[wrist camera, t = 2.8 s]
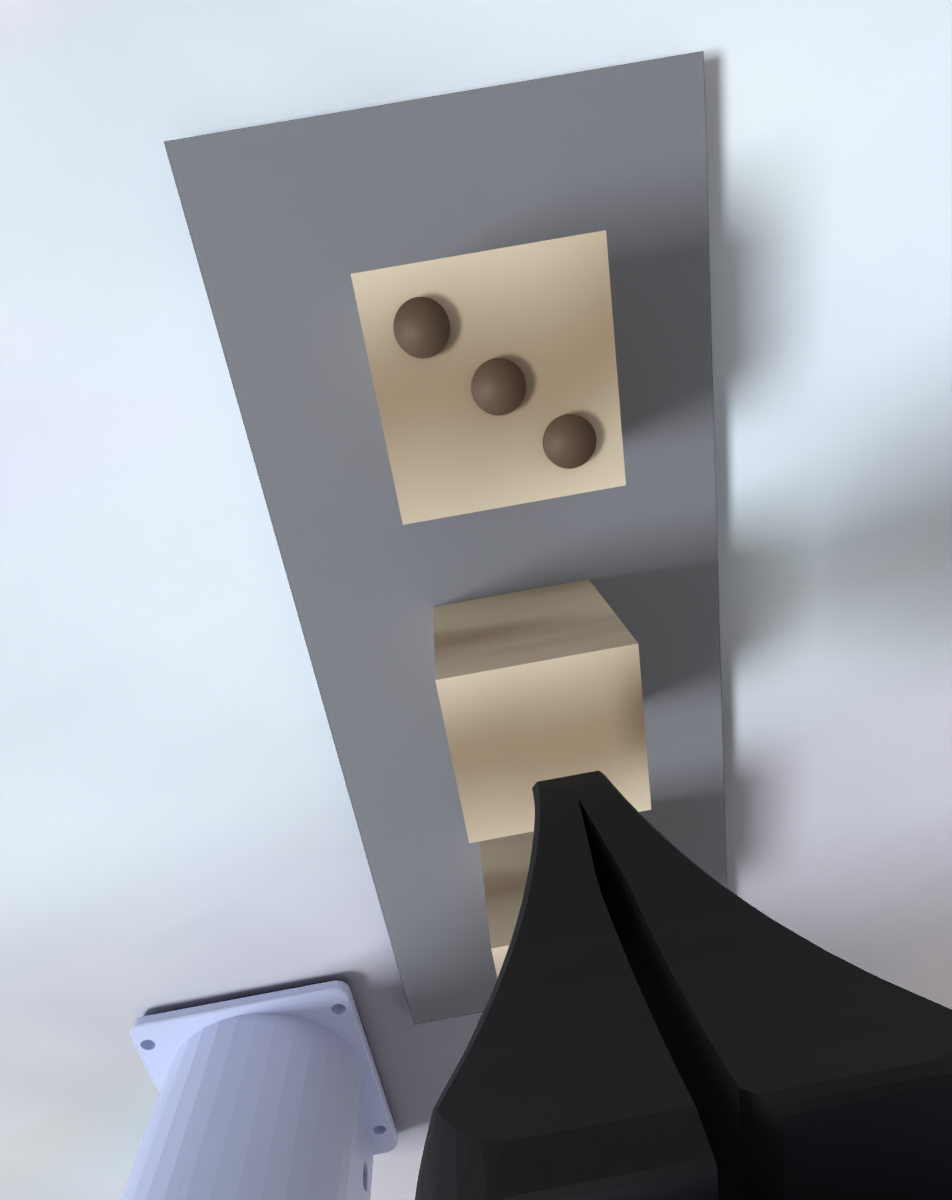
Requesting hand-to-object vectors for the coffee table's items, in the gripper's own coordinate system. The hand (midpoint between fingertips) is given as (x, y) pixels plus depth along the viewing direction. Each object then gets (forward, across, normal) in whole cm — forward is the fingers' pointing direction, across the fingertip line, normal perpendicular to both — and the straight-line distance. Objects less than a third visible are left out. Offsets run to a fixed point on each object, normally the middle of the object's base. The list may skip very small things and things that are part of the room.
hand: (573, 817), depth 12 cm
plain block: (+7, 0, 0) cm, 7 cm away
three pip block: (+7, 0, -8) cm, 11 cm away
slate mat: (+8, 0, 0) cm, 8 cm away
